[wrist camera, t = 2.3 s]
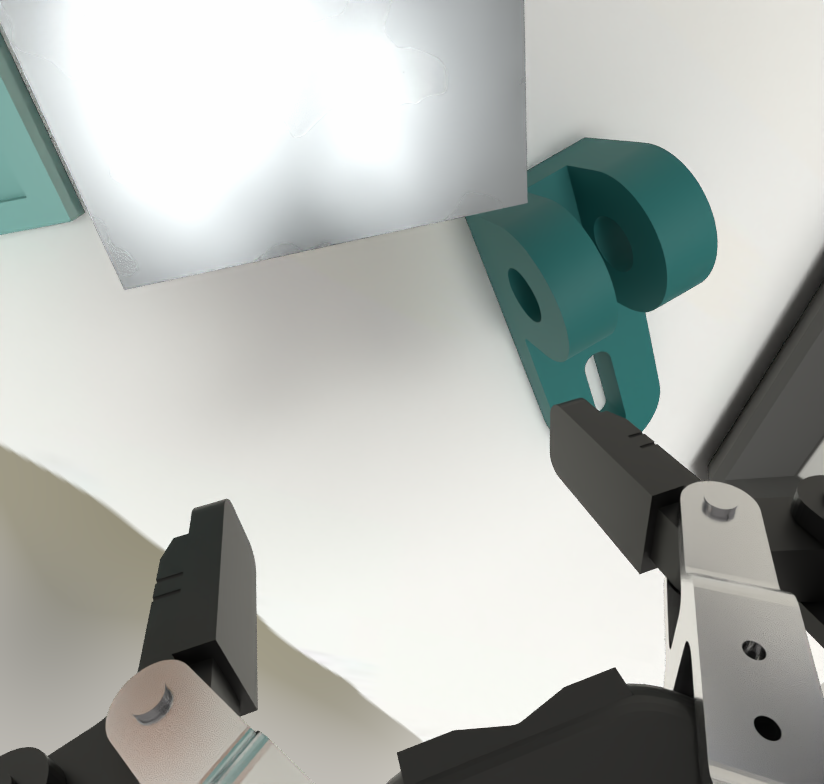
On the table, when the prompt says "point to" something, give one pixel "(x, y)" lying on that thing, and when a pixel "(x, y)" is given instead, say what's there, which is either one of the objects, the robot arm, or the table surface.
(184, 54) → the grey unit
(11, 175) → the teal tray
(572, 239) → the bracket
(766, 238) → the table surface
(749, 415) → the first aid kit
